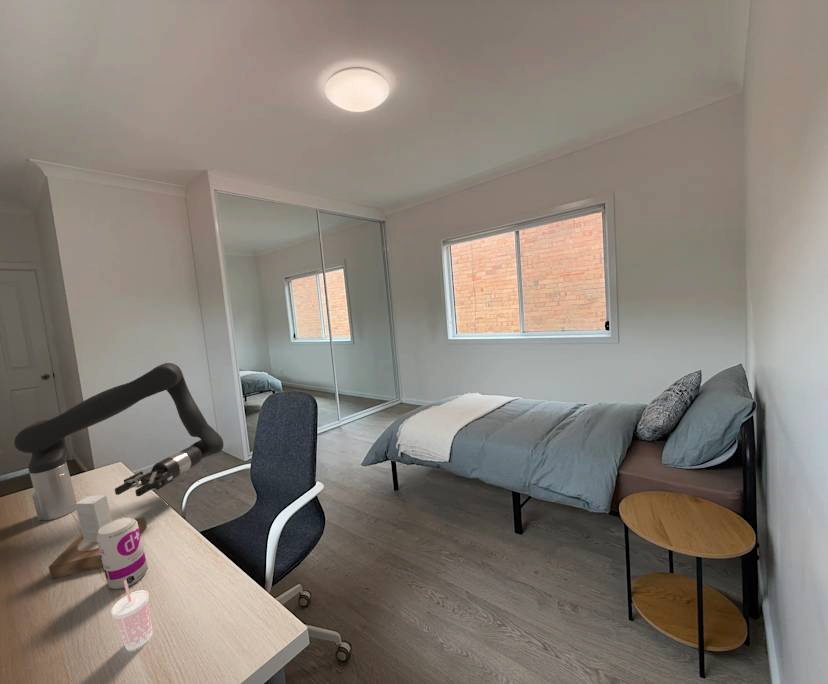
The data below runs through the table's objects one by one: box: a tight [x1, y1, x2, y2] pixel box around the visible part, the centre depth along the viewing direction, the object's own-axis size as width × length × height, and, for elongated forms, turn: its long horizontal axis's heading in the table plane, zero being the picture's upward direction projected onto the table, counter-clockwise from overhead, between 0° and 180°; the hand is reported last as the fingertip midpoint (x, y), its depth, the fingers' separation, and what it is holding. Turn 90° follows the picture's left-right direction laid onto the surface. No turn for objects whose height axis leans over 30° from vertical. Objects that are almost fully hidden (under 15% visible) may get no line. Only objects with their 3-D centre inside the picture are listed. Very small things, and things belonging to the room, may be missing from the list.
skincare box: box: [75, 494, 113, 542], centre depth 106 cm, size 6×4×12 cm
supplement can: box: [97, 515, 149, 590], centre depth 94 cm, size 8×8×15 cm
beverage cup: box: [111, 579, 154, 651], centre depth 76 cm, size 6×6×14 cm
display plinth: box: [48, 516, 148, 580], centre depth 107 cm, size 16×16×4 cm
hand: (126, 492), depth 114 cm, fingers open, 8 cm apart
